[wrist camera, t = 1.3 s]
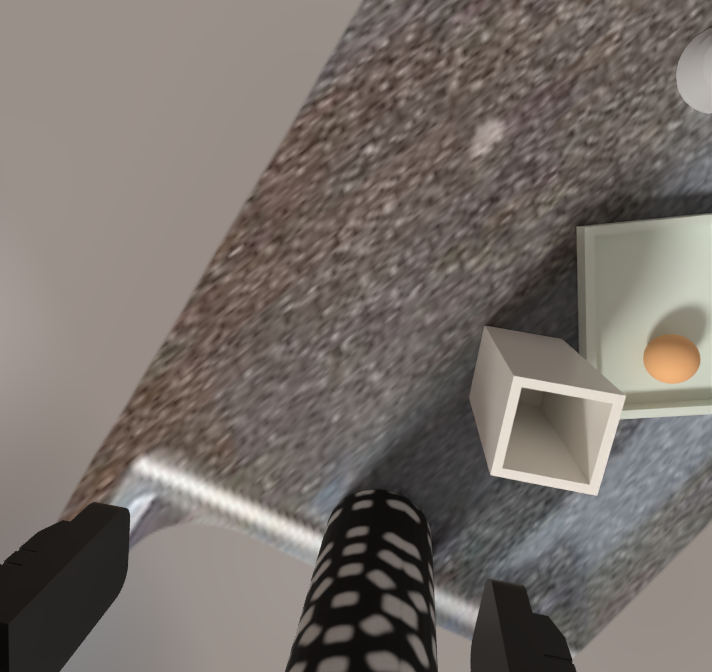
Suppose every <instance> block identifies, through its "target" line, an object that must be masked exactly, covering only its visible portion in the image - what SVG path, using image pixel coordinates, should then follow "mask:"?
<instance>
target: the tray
mask: <svg viewBox="0 0 712 672" xmlns="http://www.w3.org/2000/svg"><path fill="white" fill-rule="evenodd" d="M576 229H577V278H578V328H579V354H580V355H581V356H582V357H583V358H584V359H585V360H586V361H587V362H589V363H590V364H591V365H592V366H593V367H594V368H595V369H596V370H598V371H599V372H600V373H601V374H602V375H603V376H604V377H605V378H607V379H608V380H609V381H610V382H611V383H612V384H613V385H614V386H616V387H617V388H618V389H619V390H620V391H621V392H622V393H623V394H625V395H626V398H625V402H624V405H623V409H622V412H621V415H620V419H633V418H650V417H667V416H685V415H702V414H712V213H704V214H695V215H685V216H675V217H665V218H655V219H645V220H636V221H626V222H616V223H606V224H596V225H586V226H577V227H576ZM666 334H677V335H681V336H684V337H686V338H688V339H689V340H691V341H692V342H693V343H694V344H695V345H696V347H697V348H698V351H699V353H700V366H699V368H698V370H697V372H696V373H695V374H694V375H693V376H692V377H691V378H690V379H688V380H686V381H684V382H681V383H676V384H668V383H664V382H661V381H658V380H656V379H655V378H653V377H652V376H651V375H650V374H649V373H648V372H647V370H646V368H645V366H644V362H643V355H644V351H645V349H646V347H647V345H648V344H649V343H650V342H651V341H652V340H654V339H655V338H657V337H659V336H662V335H666Z"/></svg>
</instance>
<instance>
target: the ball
mask: <svg viewBox="0 0 712 672" xmlns="http://www.w3.org/2000/svg"><path fill="white" fill-rule="evenodd" d="M643 362H644V366H645V368H646V370H647V372H648V373H649V374H650V375H651V376H652V377H653V378H655V379H656V380H658V381H661V382H664V383H668V384H676V383H681V382H684V381H686V380H688V379H690V378H691V377H692V376H693V375H694V374H695V373H696V372H697V370H698V368H699V366H700V353H699V351H698V348H697V347H696V345H695V344H694V343H693V342H692V341H691V340H689V339H688V338H686V337H684V336H681V335H677V334H666V335H662V336H659V337H657V338H655V339H654V340H652V341H651V342H650V343H649V344H648V345H647V347H646V349H645V351H644V355H643Z"/></svg>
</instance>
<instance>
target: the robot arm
mask: <svg viewBox="0 0 712 672" xmlns="http://www.w3.org/2000/svg"><path fill="white" fill-rule="evenodd" d="M129 531H130V513H129V510H128V509H127V508H123V507H118V506H113V505H108V504H103V503H97V502H93V503H91V504H89V505H88V506H87V507H86V508H85V509H84V510H83V511H82V512H80V513H79V514H78V515H77V516H76V517H75V518H74V519H73V520H72V521H71V522H69V521H64V520H62V521H60V522H58V523H56V524H54V525H52V526H50V527H47V528H45V529H43V530H41V531H39V532H38V533H37V534H35V535H34V536H33V537H32V538H30V539H29V540H28V541H27V542H26V543H25V544H23V545H22V546H21V547H20V549H19V551H15V552H14V553H13V554H12V555H11V556H9V557H8V558H7V559H6V560H5V561H4V563H3V565H1V564H0V672H60V670H61V669H62V668H63V667H64V665H65V664H66V663H67V661H68V660H69V659H70V658H71V656H72V655H73V654H74V652H75V651H76V650H77V648H78V647H79V646H80V645H81V643H82V642H83V641H84V639H85V638H86V637H87V635H88V634H89V633H90V632H91V630H92V629H93V628H94V626H95V625H96V624H97V623H98V621H99V620H100V619H101V617H102V616H103V615H104V613H105V612H106V611H107V609H108V608H109V607H110V606H111V604H112V603H113V602H114V600H115V599H116V598H117V596H118V594H119V593H120V591H121V589H122V587H123V584H124V581H125V578H126V574H127V569H128V553H129ZM471 672H576V669H575V666H574V664H572V657H571V654H570V651H569V648H568V645H567V642H566V639H565V637H564V636H563V634H562V633H561V632H560V631H559V629H558V628H557V627H556V626H555V624H554V623H553V622H552V620H551V619H550V618H549V617H548V616H545V615H540V614H535V613H532V609H531V606H530V602H529V599H528V595H527V591H526V588H525V587H524V585H520V584H515V583H510V582H505V581H500V580H495V579H488V580H487V581H486V584H485V588H484V592H483V596H482V600H481V604H480V609H479V613H478V617H477V621H476V626H475V630H474V634H473V639H472V646H471Z"/></svg>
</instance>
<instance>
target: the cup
mask: <svg viewBox="0 0 712 672" xmlns="http://www.w3.org/2000/svg"><path fill="white" fill-rule="evenodd" d="M625 398H626V395H625V394H623V393H622V392H621V391H620V390H619V389H618V388H617V387H616V386H614V385H613V384H612V383H611V382H610V381H609V380H608V379H607V378H605V377H604V376H603V375H602V374H601V373H600V372H599V371H598V370H596V369H595V368H594V367H593V366H592V365H591V364H590V363H589V362H587V361H586V360H585V359H584V358H583V357H582V356H581V355H580V354H578V353H577V352H576V351H575V350H574V349H573V348H572V347H571V346H569V345H568V344H567V343H566V342H565V341H564V340H563V339H559V338H554V337H548V336H542V335H536V334H530V333H525V332H519V331H513V330H507V329H502V328H496V327H490V326H484V330H483V335H482V339H481V344H480V349H479V353H478V358H477V362H476V367H475V372H474V376H473V381H472V385H471V390H470V395H469V399H470V403H471V407H472V410H473V414H474V418H475V421H476V425H477V428H478V432H479V436H480V439H481V443H482V447H483V450H484V454H485V457H486V461H487V465H488V468H489V472H490V475H493V476H498V477H503V478H508V479H513V480H519V481H524V482H529V483H534V484H539V485H545V486H550V487H555V488H560V489H565V490H571V491H576V492H581V493H586V494H591V495H598V491H599V488H600V484H601V481H602V477H603V474H604V470H605V467H606V464H607V460H608V457H609V453H610V450H611V446H612V443H613V440H614V436H615V433H616V429H617V426H618V422H619V419H620V415H621V412H622V409H623V405H624V402H625Z"/></svg>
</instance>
